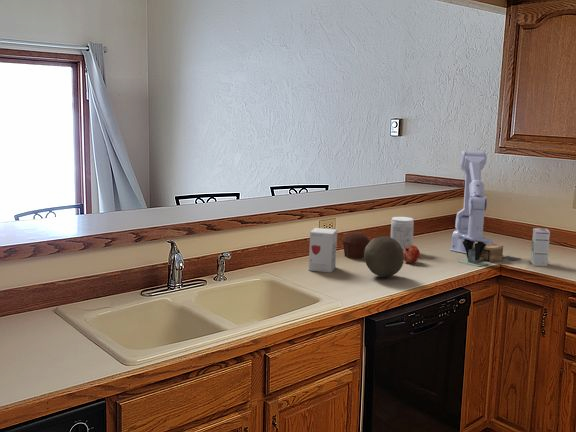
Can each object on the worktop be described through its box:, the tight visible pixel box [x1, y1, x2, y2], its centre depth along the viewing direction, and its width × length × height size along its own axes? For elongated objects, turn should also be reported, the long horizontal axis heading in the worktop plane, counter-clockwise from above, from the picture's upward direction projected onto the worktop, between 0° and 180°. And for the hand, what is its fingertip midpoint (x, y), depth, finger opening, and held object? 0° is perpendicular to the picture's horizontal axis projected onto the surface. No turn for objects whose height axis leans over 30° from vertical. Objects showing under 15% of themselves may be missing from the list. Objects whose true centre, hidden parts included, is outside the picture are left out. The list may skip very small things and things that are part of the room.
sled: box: [467, 249, 490, 263], centre depth 256 cm, size 5×16×5 cm, turn 133°
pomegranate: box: [403, 244, 421, 265], centre depth 249 cm, size 7×7×10 cm
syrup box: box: [529, 227, 551, 267], centre depth 251 cm, size 6×6×14 cm
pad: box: [457, 258, 491, 268], centre depth 252 cm, size 10×9×1 cm
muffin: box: [341, 231, 371, 260], centre depth 257 cm, size 12×11×10 cm
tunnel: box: [472, 242, 504, 264], centre depth 258 cm, size 9×9×6 cm
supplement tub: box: [390, 216, 415, 250], centre depth 266 cm, size 10×10×15 cm
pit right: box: [502, 255, 522, 262], centre depth 261 cm, size 6×6×1 cm
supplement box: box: [308, 227, 338, 273], centre depth 234 cm, size 9×9×15 cm
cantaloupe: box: [363, 236, 405, 278], centre depth 225 cm, size 14×14×15 cm
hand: (473, 259), depth 251 cm, fingers closed on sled, 3 cm apart
